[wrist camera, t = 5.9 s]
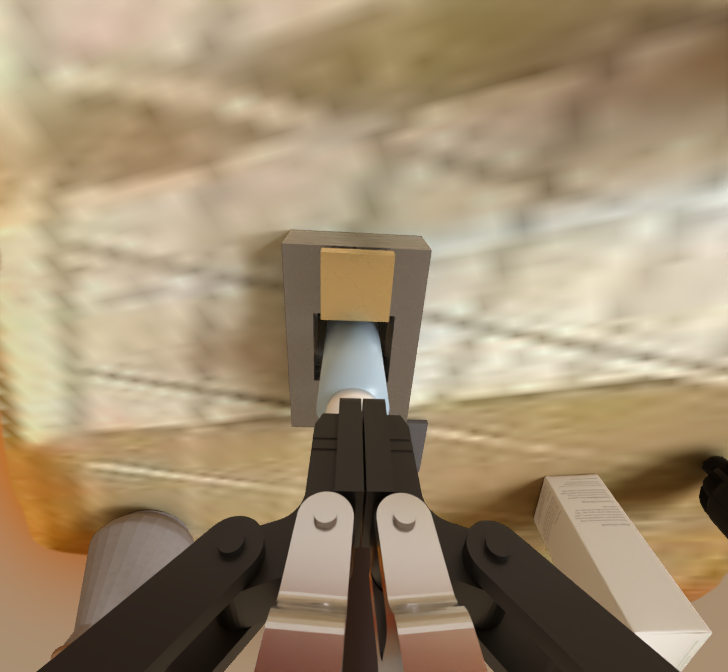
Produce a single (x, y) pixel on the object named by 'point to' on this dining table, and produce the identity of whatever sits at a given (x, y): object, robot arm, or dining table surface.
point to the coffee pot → (125, 562)
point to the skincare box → (616, 565)
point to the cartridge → (351, 365)
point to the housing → (306, 304)
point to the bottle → (360, 618)
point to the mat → (417, 438)
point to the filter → (716, 492)
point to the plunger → (356, 284)
